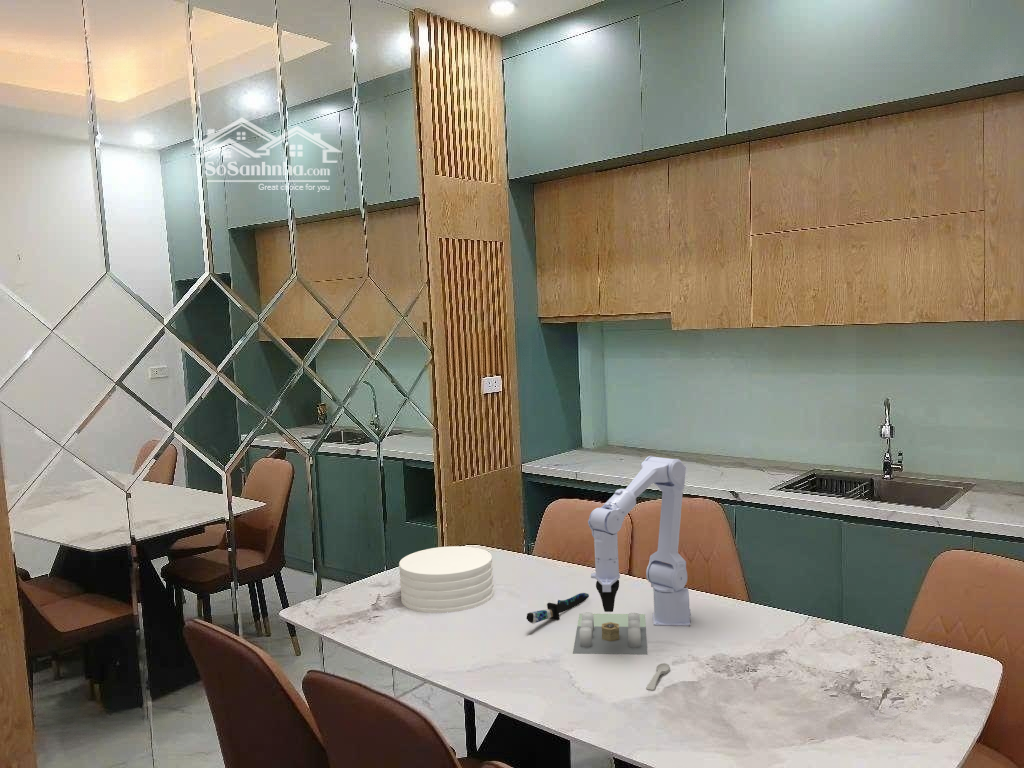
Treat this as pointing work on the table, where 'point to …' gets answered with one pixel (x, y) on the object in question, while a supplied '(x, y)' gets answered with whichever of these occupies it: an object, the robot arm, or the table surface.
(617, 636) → the nut
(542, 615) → the knife
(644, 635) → the spacer board
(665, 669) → the spoon
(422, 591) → the plate stack
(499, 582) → the table surface
